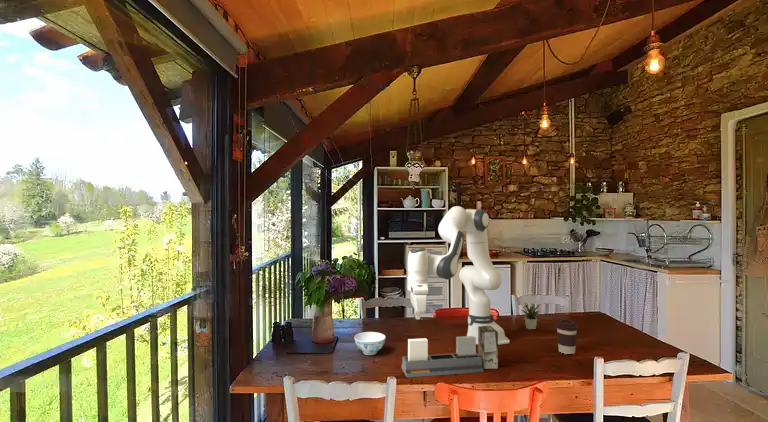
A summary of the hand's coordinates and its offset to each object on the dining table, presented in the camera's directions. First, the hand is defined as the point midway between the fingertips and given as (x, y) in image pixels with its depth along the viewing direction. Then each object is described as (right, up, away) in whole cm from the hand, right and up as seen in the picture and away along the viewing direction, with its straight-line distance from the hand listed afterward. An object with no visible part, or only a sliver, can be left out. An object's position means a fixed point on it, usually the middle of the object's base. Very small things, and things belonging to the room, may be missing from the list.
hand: (417, 318), depth 162 cm
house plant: (+71, -24, +62) cm, 97 cm away
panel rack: (+11, -23, +2) cm, 25 cm away
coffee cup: (+75, -23, +23) cm, 82 cm away
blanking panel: (0, -21, 0) cm, 21 cm away
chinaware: (-21, -23, +22) cm, 38 cm away
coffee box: (+32, -23, +7) cm, 40 cm away
